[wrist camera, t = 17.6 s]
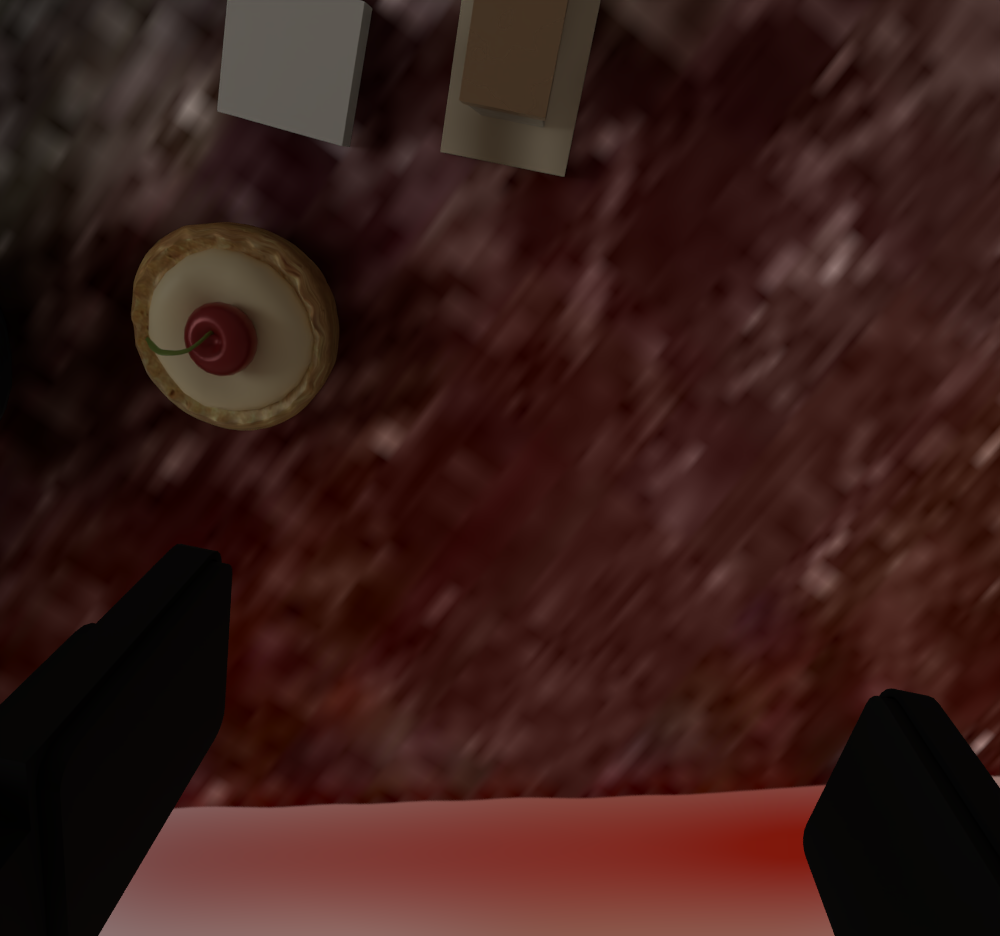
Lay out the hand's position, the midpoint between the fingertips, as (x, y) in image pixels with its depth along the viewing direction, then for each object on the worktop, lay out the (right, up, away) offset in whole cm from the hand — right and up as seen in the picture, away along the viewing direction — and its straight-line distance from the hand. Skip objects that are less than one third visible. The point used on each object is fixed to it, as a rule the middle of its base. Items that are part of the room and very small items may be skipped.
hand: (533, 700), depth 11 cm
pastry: (-16, +13, +35) cm, 41 cm away
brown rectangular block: (+1, +26, +27) cm, 38 cm away
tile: (-8, +25, +29) cm, 39 cm away
